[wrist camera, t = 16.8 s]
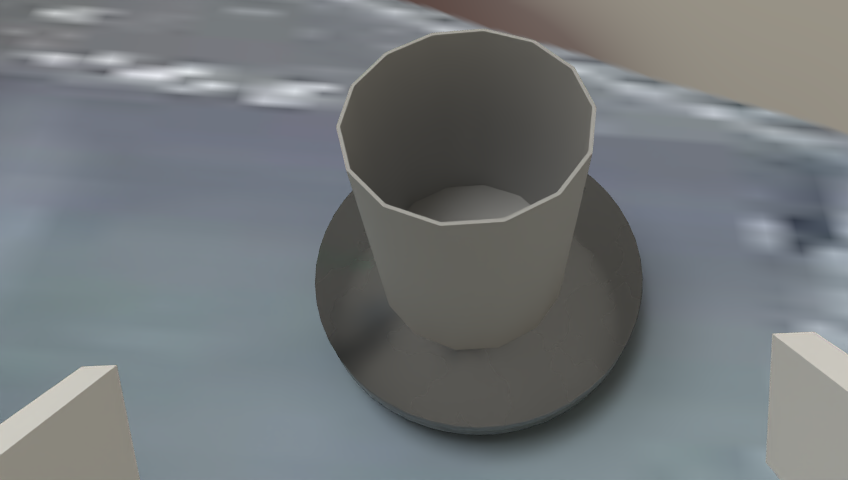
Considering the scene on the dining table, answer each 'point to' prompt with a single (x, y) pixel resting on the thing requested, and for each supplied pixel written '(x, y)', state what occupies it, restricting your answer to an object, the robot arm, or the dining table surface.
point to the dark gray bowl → (488, 367)
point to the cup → (469, 180)
